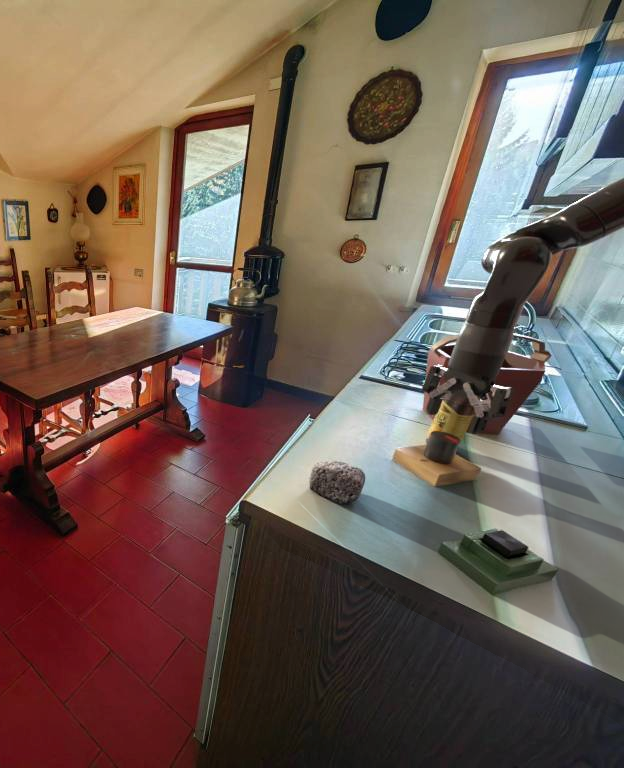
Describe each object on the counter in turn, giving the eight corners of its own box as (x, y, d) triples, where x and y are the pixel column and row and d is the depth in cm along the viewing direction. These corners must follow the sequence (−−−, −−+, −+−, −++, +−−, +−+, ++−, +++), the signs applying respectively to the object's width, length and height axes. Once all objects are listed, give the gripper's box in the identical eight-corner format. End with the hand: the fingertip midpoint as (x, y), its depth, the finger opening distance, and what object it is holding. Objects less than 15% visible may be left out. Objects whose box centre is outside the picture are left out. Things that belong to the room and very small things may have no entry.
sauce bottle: (421, 438, 98) (449, 363, 90) (452, 444, 95) (484, 368, 87) (428, 450, 92) (458, 372, 85) (461, 457, 90) (495, 377, 82)
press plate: (497, 538, 62) (502, 529, 61) (524, 555, 58) (529, 546, 58) (480, 541, 61) (484, 533, 60) (506, 559, 58) (511, 550, 57)
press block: (493, 540, 66) (503, 522, 64) (552, 580, 59) (564, 560, 57) (437, 552, 63) (445, 533, 62) (491, 595, 56) (502, 574, 55)
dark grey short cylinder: (417, 453, 85) (425, 431, 83) (433, 449, 87) (442, 428, 85) (440, 465, 81) (449, 443, 79) (457, 462, 82) (467, 439, 80)
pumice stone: (329, 485, 83) (294, 481, 79) (345, 454, 81) (310, 448, 77) (372, 517, 74) (335, 514, 70) (392, 482, 72) (354, 478, 68)
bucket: (511, 416, 110) (551, 330, 100) (536, 452, 92) (588, 352, 83) (405, 396, 122) (432, 317, 112) (411, 424, 104) (443, 334, 95)
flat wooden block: (430, 454, 91) (434, 442, 89) (476, 479, 82) (481, 467, 80) (391, 459, 88) (396, 447, 87) (434, 486, 79) (439, 473, 78)
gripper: (540, 357, 69) (504, 438, 75) (457, 337, 81) (432, 406, 88) (508, 360, 67) (474, 442, 73) (428, 339, 80) (405, 410, 86)
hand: (451, 422), depth 80 cm, fingers open, 8 cm apart
